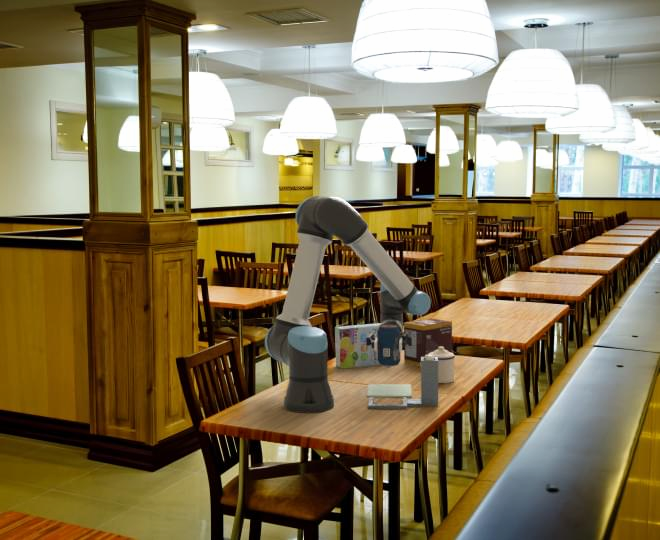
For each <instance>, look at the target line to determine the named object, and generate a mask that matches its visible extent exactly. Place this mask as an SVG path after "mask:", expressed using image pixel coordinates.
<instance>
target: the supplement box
mask: <svg viewBox="0 0 660 540" xmlns="http://www.w3.org/2000/svg"><path fill="white" fill-rule="evenodd" d="M407 332H411V337H412V346H408V344H407V345H406V347H403V348H404V349H403V352H404V353H403V355H404V356H403V358H404V364H406V365H411V366H415V367H419V368H421V365H420V362H421V357H425V355H428V354H429V353H431V352H434V351H435V350H438V347H440V346H442V347H444V350H447V351H448V352H451V353H453V321H451V320H446V319H440V318H435V317H431V318H424V319H417V320H410V321H406V322H403V334H405V333H407Z"/></svg>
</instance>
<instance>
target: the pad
mask: <svg viewBox="0 0 660 540" xmlns="http://www.w3.org/2000/svg"><path fill="white" fill-rule="evenodd" d="M365 397H366V398H370V397H374V398H390V397H401V398H402V399H403V398H404V397H408V398H407V399H412V384H411V383H410V384H409V383H407V384H405V383H403V384H401V383H400V384H399V383H397V384H396V383H393V384H392V383H380V384H379V383H369V384H368V386H367V392H366V395H365Z"/></svg>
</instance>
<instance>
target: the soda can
mask: <svg viewBox="0 0 660 540" xmlns="http://www.w3.org/2000/svg"><path fill="white" fill-rule="evenodd" d="M377 337H378V362H379V364H380V365H379V366H382V367H388V368H389V367H396V366H398V365H399V364H400V363H401V351H399V340H400V330H399V328H398V325H395V324H382V325H380V326H379V329H378V331H377Z"/></svg>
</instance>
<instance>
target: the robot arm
mask: <svg viewBox="0 0 660 540" xmlns="http://www.w3.org/2000/svg"><path fill="white" fill-rule="evenodd" d="M295 211H296V212H295V222H296V223H297V224H296V225H297V232H296V235H297V237H298V239H299V242H298V246H297V251H296V254H295V255H296V256H295V259H294V263H293V267H292V271H291V274H290V279H289V283H288V288H287V292H286V296H285V301H284V303H283V309H282V312H281V314H279V315H277V316H276V317H275V319H274V320H275V321H274V325H272V326H271V327H270V328H269V329H268V330H267V332H266V334H265V337H264V347H265V350H266V352H267V353H268V355H269V356H270V357H272V359H274V360H275V361H276V362H279V363H282V364H284V365H286V366H288V376H289V377H288V378H289V379H288V385H287V388H286V392H285V396H284V399H283V406H284V409H286V410H287V411H290V412H296V413H318V412H323V411H325V412H326V411H328V410H330V409H332V408H333V407H334V406H335V398H334V395H333V394H332V391H331V386H330V383H329V377H328V373H329V372H328V369H329V368H328V366H329V365H328V347H329V346H328V345H329V344H328V343H329V342H328V338H327V333H326V332H325V331H324V330H323V329H322V328H320V327H319V328H318V327H315V326H312V324H311V321H310V320H309V318H310V313H311V309H312V305H313V302H314V298H315V293H316V289H317V285H318V281H319V278H320V272H321V270H322V269H321V268H322V265H323V260H324V256H325V252H326V248H327V246H329V245H331V244H332V243H333V239H334V237H336V238H337V239H338V240H340V241H341V243H342V244H343V245H344V246H349V247H350V248H351V250H352V251H353V252H354V253H355V255H357V256H358V258H359V259H360V260H361V261H362V263H364V265H366V266H367V268H368V270H370V271H371V273H372V274H373V275H374V277H375V278H377V280H378V281H379V282H380V283H381V284H380V290H379V295H380V298H379V299H380V323H381V325H382V324H395V325H398V328H399V330H400V340H399V351H400V352H403V348H404V347H406V345H407V344H408V346H412V337H411V332H407V333H405V334H404V317H403V316H404V313H406V314H411V315H412V316H415V315H417V316H423V315H425V314H427V313H428V312H429V310H430V308H431V304H432V303H431V302H432V301H431V298H430V296H429V294H428V293H426V292H424V291H420V290H418V289H417V287H416V286H415V285H414V284H413V283H412V281H411V280H410V279H409V277H408V276H407V275H406V274H405V273H404V271H403V270H402V269H401V268H400V266H399V265H398V264H397V263H396V262H395V261H394V259H393V258H392V257H391V256H390V255H389V253H388V252H387V251H386V250H385V248H384V247H383V246H382V245H381V243H380V242H379V241H378V240H377V239H376V238H375V236H374V235H373V234H372V233H371V232H370V230H369V224H368V223H367V222H366V221H365V219H364V218H363V216H362V215H361V214H360V213H359V211H357V210H356V209H355V207H353V206H352V204H350V203H349V202H348V201H347V200H345V199H343V198H341V197H338V196H333V195H332V196H321V195H316V196H312V197H308V198H305V199H304V200H302V201H301V202H300V204H298V206H297V208H296V210H295ZM366 345H367V346H369V345H371V346H372V348H374V351H377V349H378V337H377V334H375V333H373V332H369V335H368V336H367V337H366Z"/></svg>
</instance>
